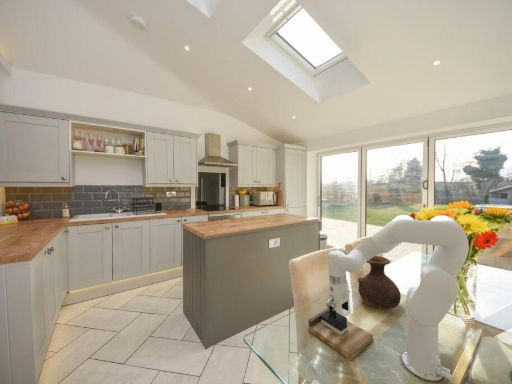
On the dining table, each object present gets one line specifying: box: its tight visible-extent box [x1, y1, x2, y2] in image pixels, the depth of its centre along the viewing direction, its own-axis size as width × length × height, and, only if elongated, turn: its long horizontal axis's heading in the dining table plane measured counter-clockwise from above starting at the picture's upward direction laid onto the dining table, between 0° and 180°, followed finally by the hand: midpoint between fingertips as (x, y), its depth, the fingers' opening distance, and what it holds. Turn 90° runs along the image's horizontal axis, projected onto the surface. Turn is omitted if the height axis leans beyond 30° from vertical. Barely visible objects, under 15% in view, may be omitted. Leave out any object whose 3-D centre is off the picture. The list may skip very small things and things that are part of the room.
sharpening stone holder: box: [308, 307, 374, 361], centre depth 101 cm, size 22×18×6 cm
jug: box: [357, 255, 402, 311], centre depth 124 cm, size 22×22×30 cm
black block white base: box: [321, 311, 348, 335], centre depth 103 cm, size 11×5×6 cm, turn 36°
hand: (339, 313), depth 101 cm, fingers open, 9 cm apart
